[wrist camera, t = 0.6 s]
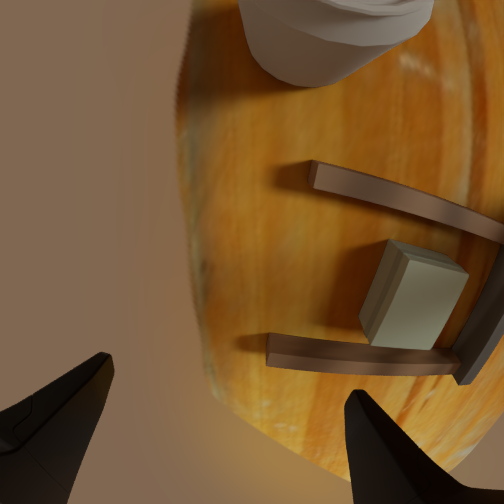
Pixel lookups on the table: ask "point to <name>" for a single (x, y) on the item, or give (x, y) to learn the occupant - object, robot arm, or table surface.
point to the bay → (400, 359)
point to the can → (327, 35)
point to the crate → (411, 297)
